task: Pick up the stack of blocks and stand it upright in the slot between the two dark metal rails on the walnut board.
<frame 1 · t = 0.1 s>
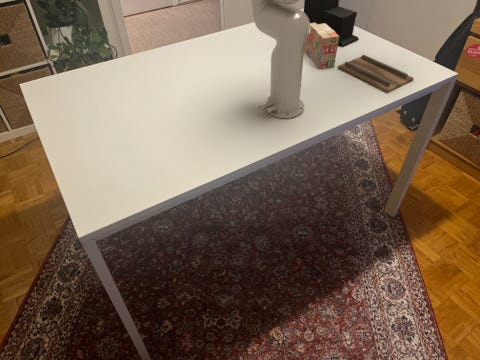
stack of blocks: (316, 57, 147), on the table
bookend: (329, 36, 161), on the table
slot board: (374, 74, 135), on the table
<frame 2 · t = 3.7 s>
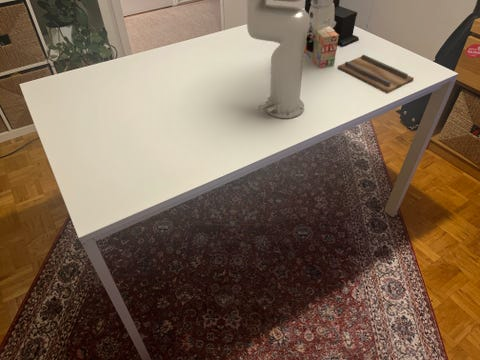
hand: (317, 47, 145), 3 cm above the table, tool pointing down, fingers closed on stack of blocks, 7 cm apart
stack of blocks: (315, 56, 148), on the table, touching gripper
everything else where it was.
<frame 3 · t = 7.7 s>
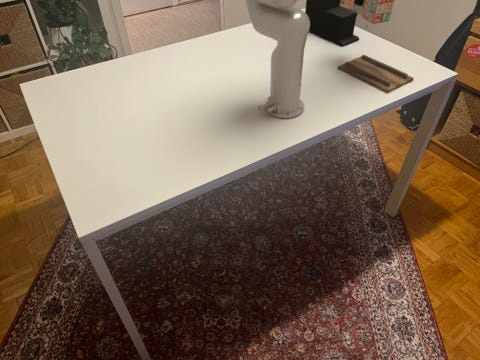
hand: (366, 1, 122), 24 cm above the table, tool pointing down, fingers closed on stack of blocks, 7 cm apart
stack of blocks: (363, 12, 126), point 20 cm above the table, touching gripper
everything else where it was.
when the fingers open (6 cm above the table, at t = 11.5 s): stack of blocks stays where it is, resting on slot board.
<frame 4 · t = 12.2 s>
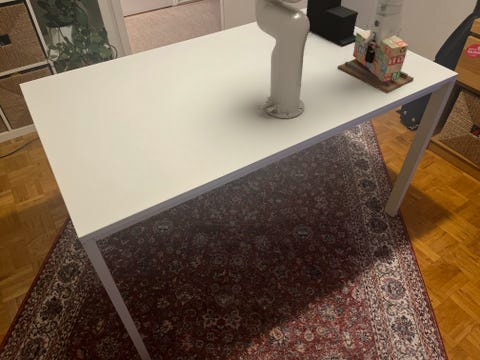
hand: (377, 58, 131), 6 cm above the table, tool pointing down, fingers open, 9 cm apart
stack of blocks: (374, 67, 134), point 2 cm above the table, touching slot board
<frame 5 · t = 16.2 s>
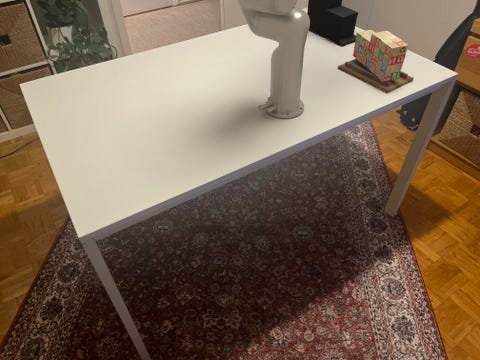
at the end: stack of blocks 0.7 cm off-centre on the slot board, point 2.3 cm above the slot board's base; stack of blocks tilted 0°; the gripper is holding nothing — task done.
